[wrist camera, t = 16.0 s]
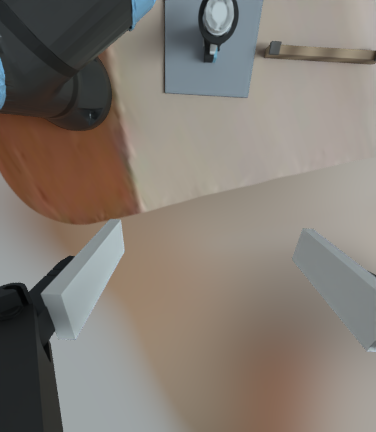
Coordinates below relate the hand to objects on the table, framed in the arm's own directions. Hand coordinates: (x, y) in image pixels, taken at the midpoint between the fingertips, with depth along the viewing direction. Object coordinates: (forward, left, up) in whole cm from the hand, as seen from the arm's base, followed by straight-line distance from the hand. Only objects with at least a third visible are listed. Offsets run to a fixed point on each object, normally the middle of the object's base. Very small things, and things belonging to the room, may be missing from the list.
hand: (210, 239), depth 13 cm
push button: (+1, +22, -30) cm, 37 cm away
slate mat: (+1, +22, -31) cm, 38 cm away
